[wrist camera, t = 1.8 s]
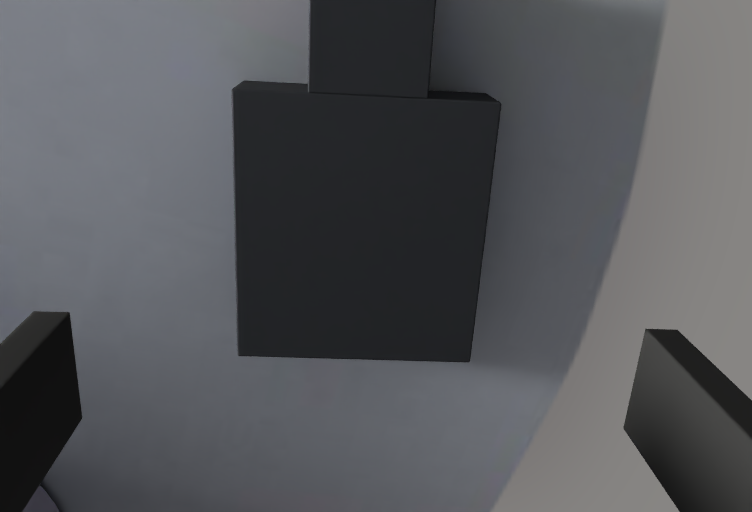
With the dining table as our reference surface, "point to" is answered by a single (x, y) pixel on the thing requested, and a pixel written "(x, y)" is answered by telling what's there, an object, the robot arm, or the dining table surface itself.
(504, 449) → the dining table surface
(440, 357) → the pad
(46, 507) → the container
